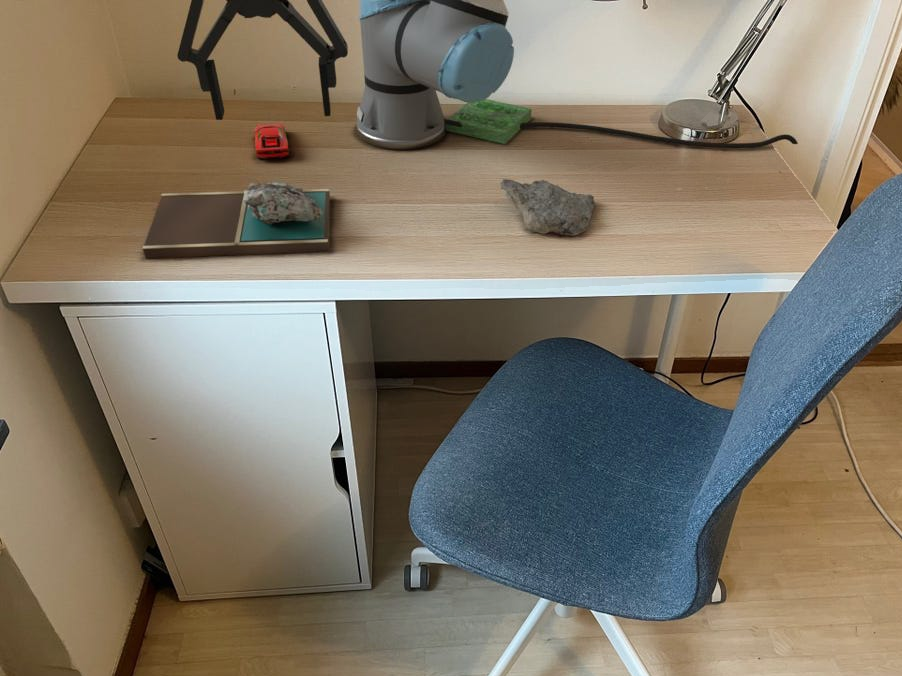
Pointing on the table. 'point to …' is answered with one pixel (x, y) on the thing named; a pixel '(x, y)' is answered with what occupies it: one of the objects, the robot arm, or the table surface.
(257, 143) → the toy car
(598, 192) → the table surface
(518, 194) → the rock
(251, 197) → the mineral specimen
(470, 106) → the marbled green block
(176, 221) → the board
